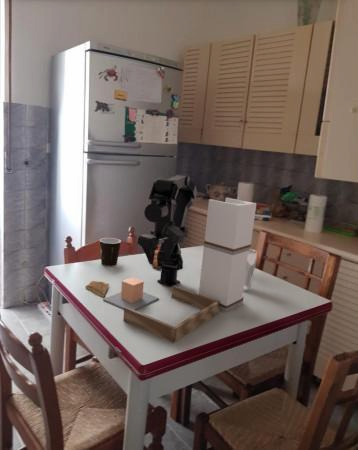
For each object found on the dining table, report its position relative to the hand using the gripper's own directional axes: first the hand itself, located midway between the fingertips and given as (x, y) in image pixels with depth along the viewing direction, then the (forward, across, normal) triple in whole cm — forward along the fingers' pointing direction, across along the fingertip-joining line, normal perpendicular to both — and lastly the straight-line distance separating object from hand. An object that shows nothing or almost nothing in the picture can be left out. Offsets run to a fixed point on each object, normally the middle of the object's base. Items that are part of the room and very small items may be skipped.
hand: (159, 261), depth 128 cm
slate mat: (+12, -10, +3) cm, 16 cm away
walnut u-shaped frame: (+12, -10, -14) cm, 21 cm away
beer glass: (+12, +29, -19) cm, 37 cm away
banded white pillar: (+12, +11, -19) cm, 25 cm away
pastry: (+13, +29, +20) cm, 38 cm away
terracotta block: (+11, -10, +3) cm, 15 cm away
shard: (+13, -11, +16) cm, 23 cm away
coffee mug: (+12, +9, +33) cm, 36 cm away
